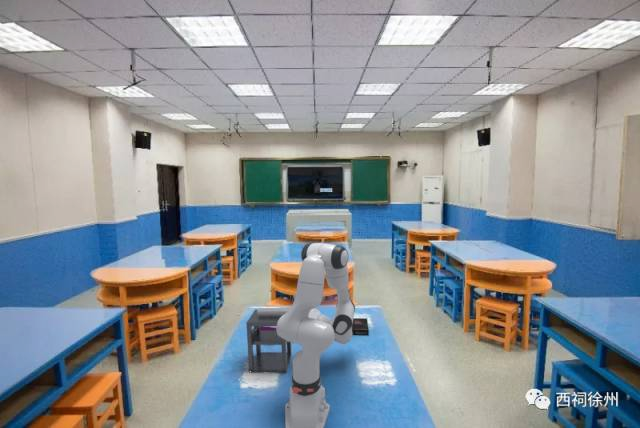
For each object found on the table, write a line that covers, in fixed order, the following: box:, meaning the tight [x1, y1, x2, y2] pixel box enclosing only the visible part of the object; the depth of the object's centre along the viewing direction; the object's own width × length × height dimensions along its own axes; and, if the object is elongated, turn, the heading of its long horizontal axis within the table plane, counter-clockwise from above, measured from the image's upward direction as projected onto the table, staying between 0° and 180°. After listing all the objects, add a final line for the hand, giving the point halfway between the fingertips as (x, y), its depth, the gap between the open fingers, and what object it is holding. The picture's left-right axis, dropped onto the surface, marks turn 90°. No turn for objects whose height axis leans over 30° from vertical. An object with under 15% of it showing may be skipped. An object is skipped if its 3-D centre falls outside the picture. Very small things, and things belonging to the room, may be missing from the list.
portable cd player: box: [352, 317, 369, 337], centre depth 199 cm, size 16×17×4 cm
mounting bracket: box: [260, 327, 277, 331], centre depth 191 cm, size 9×8×18 cm
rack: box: [246, 308, 293, 374], centre depth 162 cm, size 16×20×26 cm
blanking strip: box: [257, 307, 291, 315], centre depth 160 cm, size 4×24×2 cm, turn 86°
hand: (297, 310), depth 159 cm, fingers closed on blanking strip, 4 cm apart
